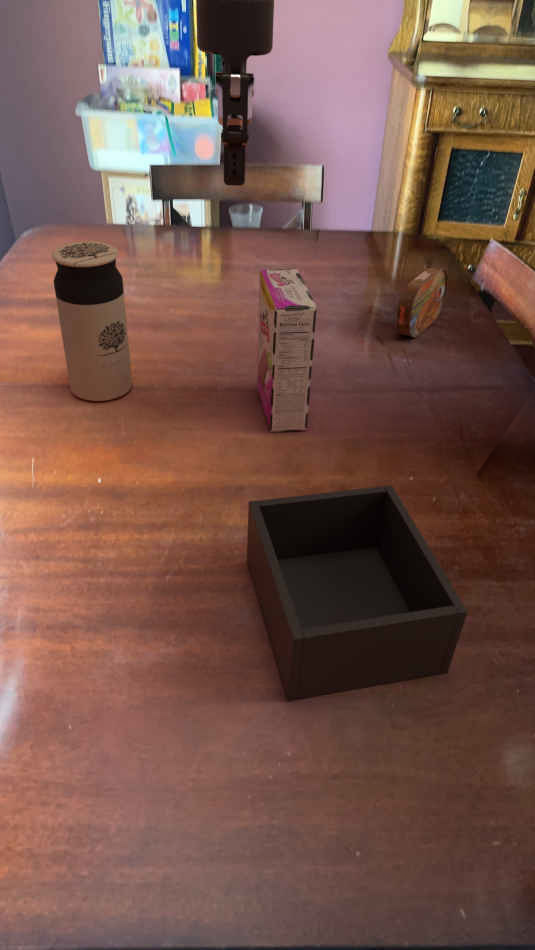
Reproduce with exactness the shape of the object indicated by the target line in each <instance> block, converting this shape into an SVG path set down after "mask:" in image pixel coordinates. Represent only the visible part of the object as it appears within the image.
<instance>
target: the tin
mask: <svg viewBox="0 0 535 950" xmlns="http://www.w3.org/2000/svg"><path fill="white" fill-rule="evenodd" d="M448 282H449V277H448V271H447V270H446V269H445V268H442V269H440V268H434V267H428V268H426V269H425V270H422V271H421V273H419V274H418V275H416V276H415V277H414V278H413V279H412V280H410V281H409V282H408V283H407V284H406V285H405V286H404V288H403V290H402V291H401V293H400V297H399V299H398V302H397V313H396V323H395V328H396V331H397V333H399V334H401V335H404V336H408V337H411V338H414V339H415V338H417V337H419V336H420V335H421V334H422V333H423V332H424V331H425V330H426V329H427V328H428V327H430V325H432V324H433V323H434V322H435V321H436V320H437V318H438V317H439V316H440V313H441V311H442V309H443V306H444V303H445V300H446V296H447V291H448Z"/></svg>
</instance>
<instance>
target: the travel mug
mask: <svg viewBox="0 0 535 950" xmlns="http://www.w3.org/2000/svg"><path fill="white" fill-rule="evenodd" d="M118 256H119V251H118V249H117V248H116V247H115V246H114V245H111V244H109V243H106V242H100V241H91V240H89V241H87V240H86V241H85V240H83V241H74V242H69V243H65V244H62V245H59V246H57V247H56V248H54V249H53V250H52V252H51V258H52V260H53V261H54V262H55V265H56V268H57V270H56V273H55V275H54V278H53V287H54V293H55V299H56V306H57V312H58V319H59V326H60V332H61V339H62V345H63V350H64V351H63V352H64V358H65V364H66V372H67V376H68V384H69V389H70V392H71V393H72V394H73V395H74V396H75V397H77V398H79V399H82V400H86V401H93V402H103V401H111V400H115V399H117V398H120V397H123V396H124V395H125V394H127V393H129V391H130V390H131V389H132V386H133V378H132V366H131V355H130V345H129V335H128V334H129V333H128V321H127V310H126V302H125V300H126V299H125V289H124V278H123V276H122V274H121V272H120V270H119V269H118V268H117V258H118Z"/></svg>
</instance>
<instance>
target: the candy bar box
mask: <svg viewBox="0 0 535 950" xmlns="http://www.w3.org/2000/svg"><path fill="white" fill-rule="evenodd" d="M258 285H259V288H258V289H259V291H258V301H259V302H258V332H257V333H258V335H257V337H258V339H257V373H256V374H257V376H256V388H257V392H258V395H259V398H260V402H261V405H262V408H263V412H264V415H265V419H266V422H267V425H268V429H269V432H270V433H284V432H285V433H287V432H302V431H307V430H308V421H309V408H310V399H311V396H310V395H311V385H312V372H313V370H312V369H313V361H314V360H313V359H314V349H315V347H314V346H315V336H316V335H315V334H316V322H317V311H318V306H317V304H316V302H315V300H314V298H313V297H312V294H311V293H310V291H309V288H308V287H307V285H306V283H305V281H304V279H303V277H302V275H301V273H300V271H299V270H298V268H290V269H289V268H287V269H284V268H277V269H270V268H267V269H261V270H259V284H258Z"/></svg>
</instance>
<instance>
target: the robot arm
mask: <svg viewBox="0 0 535 950" xmlns="http://www.w3.org/2000/svg"><path fill="white" fill-rule="evenodd" d="M195 12H196V15H195V16H196V46H197V48H198V49H199V51H200V52H203V53H206V54H211V55H220V57H221V58H222V61H221V67H222V71H215V76H214V80H215V81H214V90H215V91H214V93H215V96H216V97H217V122H218V125H220V126H222V132H221V133H220V141H221V143H222V147H223V183H224V184H225V185H226V186H237V187H238V186H240V187H241V186H243V185H244V184H245V183H246V148H247V147H248V145H247V144H249V139H250V134H249V133H248V127H249V126H250V125H251V124H252V119H253V98H254V96H255V75H254V72H253V73H251V72H247V65H248V64H247V60H248V59H249V58H250V57H251V56H252V57H253V56H254V57H260V56H266V55H269V54H270V53H272V50H273V48H274V47H273V46H274V45H273V44H274V18H275V17H274V15H275V0H195Z"/></svg>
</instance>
